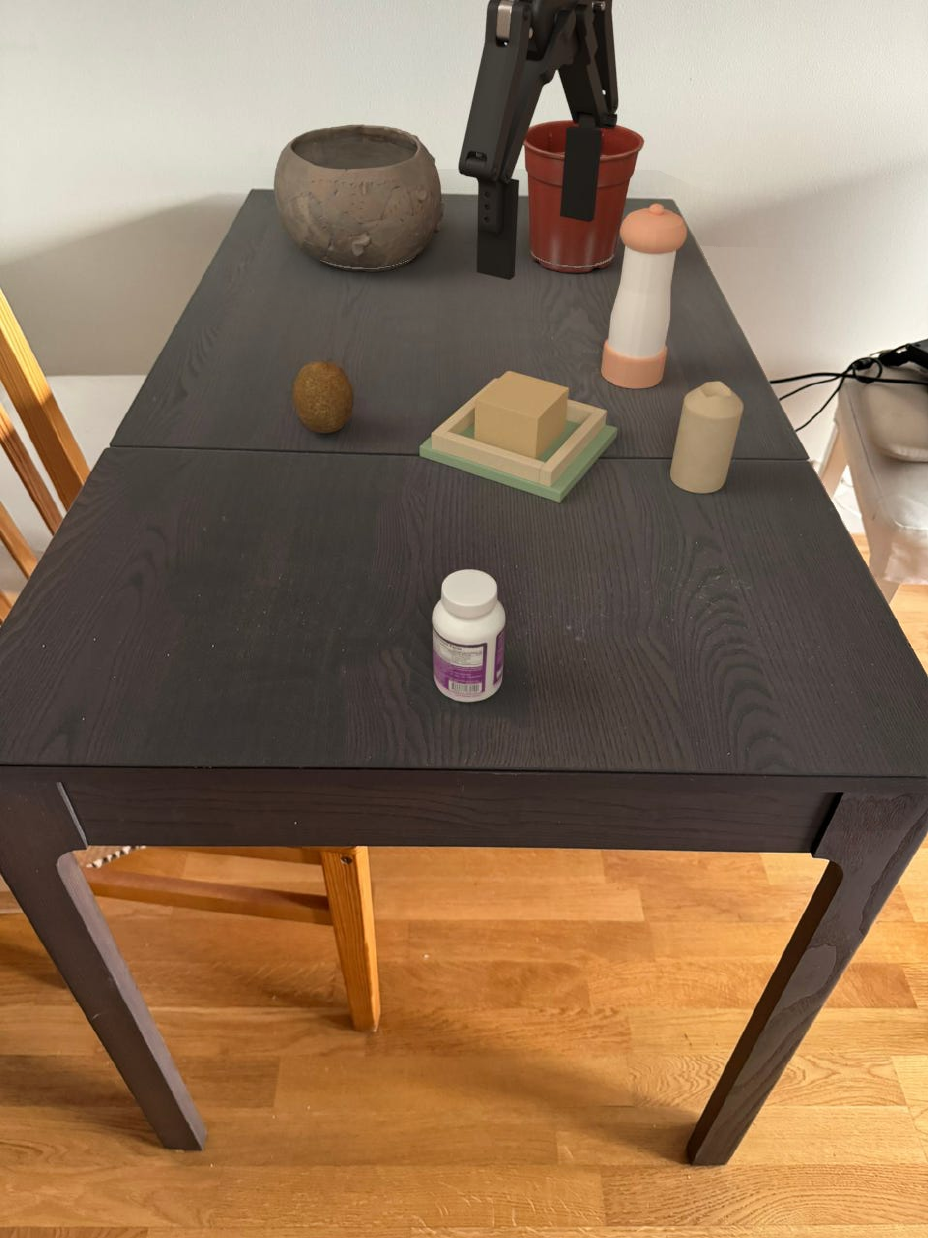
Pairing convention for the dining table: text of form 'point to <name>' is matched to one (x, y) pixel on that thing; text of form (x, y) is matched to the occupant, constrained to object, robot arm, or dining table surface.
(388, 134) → the bowl
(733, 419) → the candle
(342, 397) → the fruit
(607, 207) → the flower pot
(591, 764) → the dining table surface
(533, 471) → the base pad
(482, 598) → the pill bottle
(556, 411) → the tan rectangular block
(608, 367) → the pepper shaker
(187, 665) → the dining table surface
